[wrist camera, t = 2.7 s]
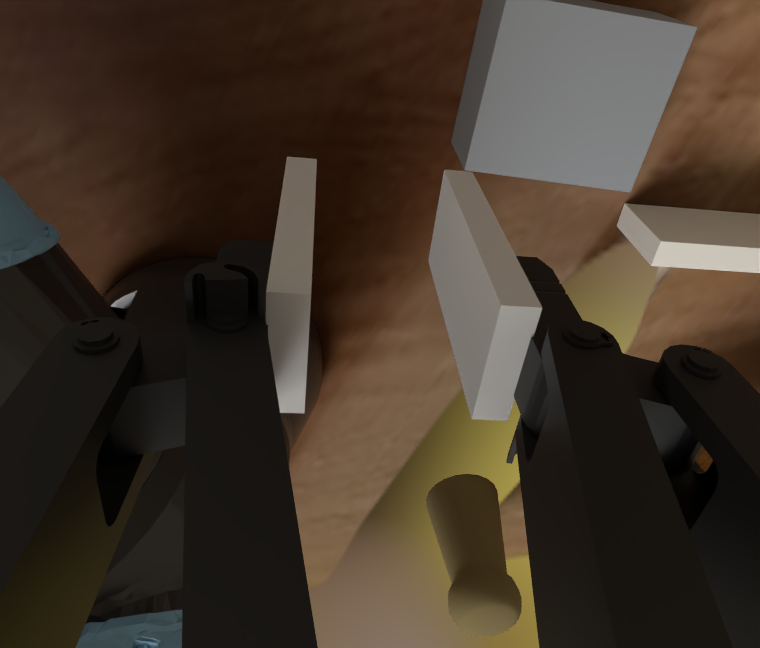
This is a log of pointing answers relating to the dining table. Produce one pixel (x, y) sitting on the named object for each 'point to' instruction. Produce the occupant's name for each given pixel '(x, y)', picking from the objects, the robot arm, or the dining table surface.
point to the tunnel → (693, 237)
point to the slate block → (567, 90)
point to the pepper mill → (474, 555)
